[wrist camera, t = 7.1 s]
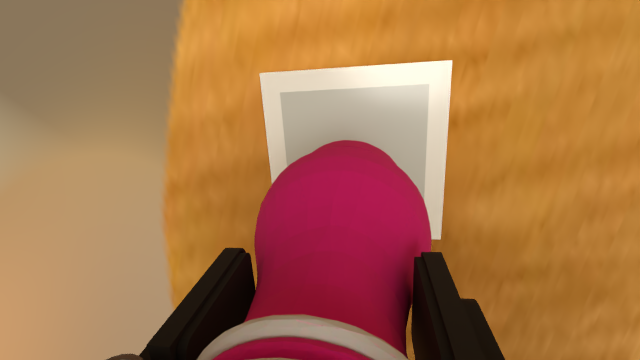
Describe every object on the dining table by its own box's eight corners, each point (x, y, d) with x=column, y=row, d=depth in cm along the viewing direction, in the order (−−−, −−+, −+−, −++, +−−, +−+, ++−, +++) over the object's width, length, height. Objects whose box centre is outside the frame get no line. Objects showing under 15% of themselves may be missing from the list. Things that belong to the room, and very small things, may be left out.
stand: (442, 61, 25) (452, 60, 22) (433, 223, 29) (441, 240, 26) (270, 73, 27) (258, 73, 24) (286, 222, 31) (277, 237, 28)
